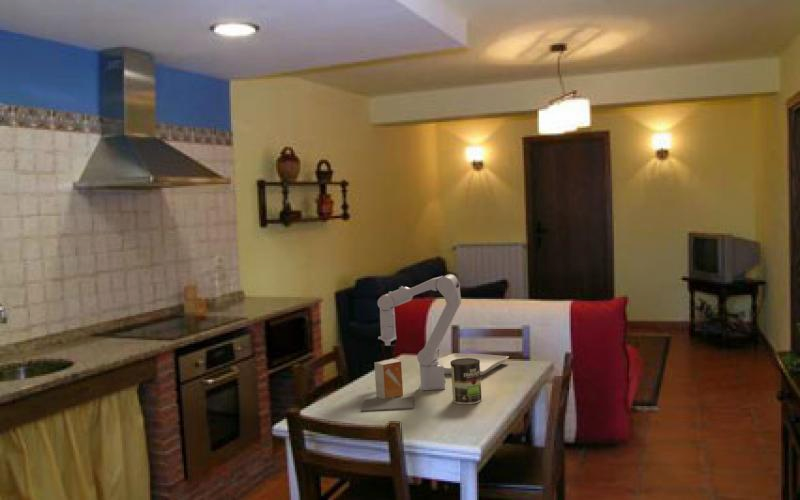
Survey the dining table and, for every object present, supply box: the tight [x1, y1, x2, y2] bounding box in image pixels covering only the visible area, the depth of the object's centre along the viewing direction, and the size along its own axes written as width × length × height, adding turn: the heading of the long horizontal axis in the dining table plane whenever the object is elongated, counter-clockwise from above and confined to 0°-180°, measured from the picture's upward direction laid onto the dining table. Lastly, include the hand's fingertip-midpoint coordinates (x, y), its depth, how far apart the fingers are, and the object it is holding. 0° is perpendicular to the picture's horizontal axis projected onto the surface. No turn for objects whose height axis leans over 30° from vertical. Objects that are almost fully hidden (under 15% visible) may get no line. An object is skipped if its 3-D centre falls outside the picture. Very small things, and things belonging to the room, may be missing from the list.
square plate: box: [437, 352, 510, 376], centre depth 301 cm, size 27×27×4 cm
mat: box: [360, 396, 415, 413], centre depth 255 cm, size 18×13×1 cm
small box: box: [373, 358, 404, 399], centre depth 267 cm, size 8×6×13 cm
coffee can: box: [450, 358, 483, 406], centre depth 254 cm, size 10×10×14 cm
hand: (389, 360), depth 279 cm, fingers open, 7 cm apart
